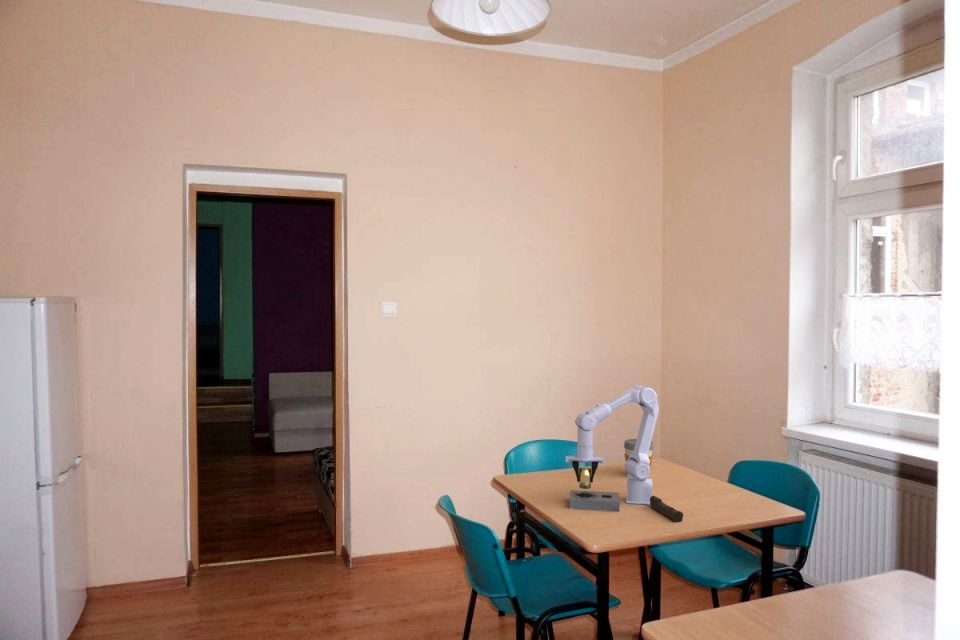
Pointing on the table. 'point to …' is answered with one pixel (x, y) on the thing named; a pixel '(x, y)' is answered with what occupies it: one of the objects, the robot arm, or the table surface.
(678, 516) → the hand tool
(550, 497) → the table surface
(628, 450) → the reusable coffee cup
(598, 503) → the grey flat block
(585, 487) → the brass fitting
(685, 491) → the table surface
